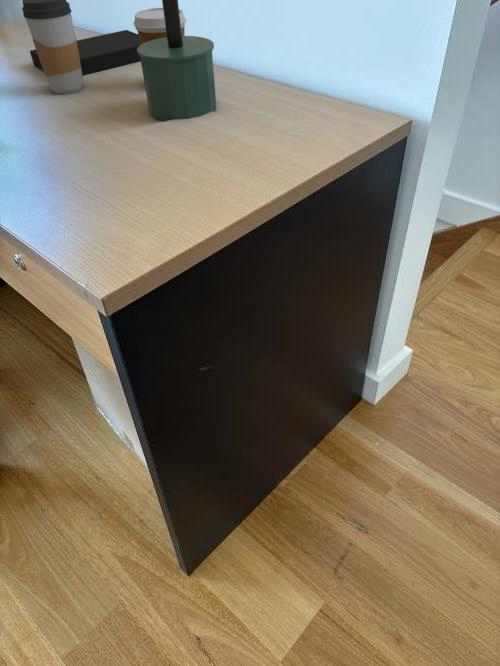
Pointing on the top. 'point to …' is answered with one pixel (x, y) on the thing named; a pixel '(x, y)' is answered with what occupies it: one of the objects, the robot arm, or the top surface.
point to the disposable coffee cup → (153, 24)
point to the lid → (174, 40)
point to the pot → (179, 87)
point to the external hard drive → (103, 51)
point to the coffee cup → (55, 43)
